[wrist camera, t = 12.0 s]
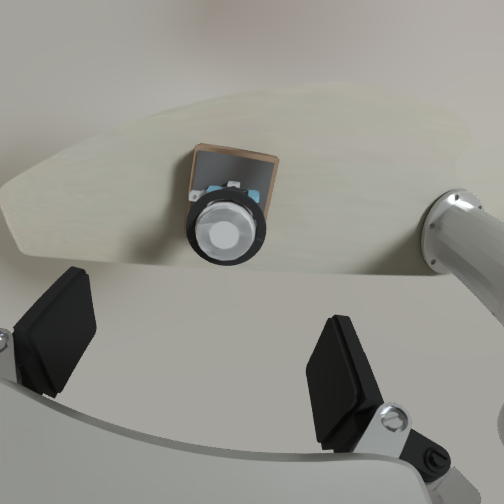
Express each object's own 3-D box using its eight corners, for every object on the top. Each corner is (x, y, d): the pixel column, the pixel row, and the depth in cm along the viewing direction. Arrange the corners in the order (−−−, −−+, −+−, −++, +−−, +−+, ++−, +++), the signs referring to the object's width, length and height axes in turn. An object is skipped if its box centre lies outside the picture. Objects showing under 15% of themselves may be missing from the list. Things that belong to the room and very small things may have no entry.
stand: (276, 156, 29) (279, 160, 25) (259, 233, 32) (260, 247, 29) (201, 143, 28) (194, 145, 24) (190, 221, 32) (183, 233, 28)
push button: (190, 217, 28) (162, 265, 18) (194, 164, 25) (163, 187, 16) (257, 225, 28) (260, 277, 19) (265, 172, 26) (273, 199, 17)
